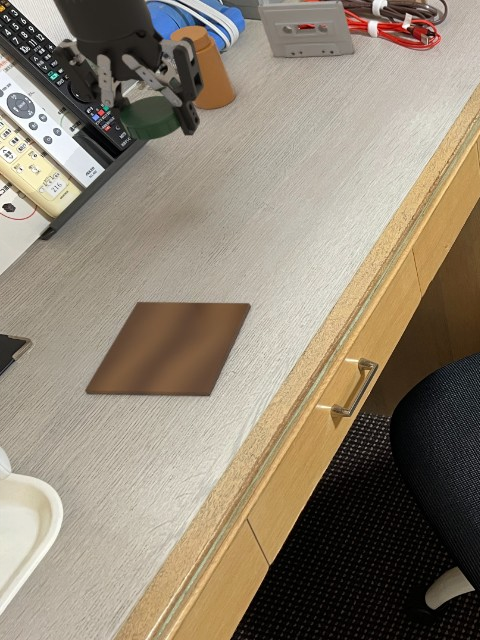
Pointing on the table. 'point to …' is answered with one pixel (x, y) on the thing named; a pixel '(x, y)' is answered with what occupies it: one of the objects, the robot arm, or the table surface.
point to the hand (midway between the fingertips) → (163, 131)
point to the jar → (208, 68)
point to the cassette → (306, 40)
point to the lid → (149, 118)
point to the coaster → (170, 349)
